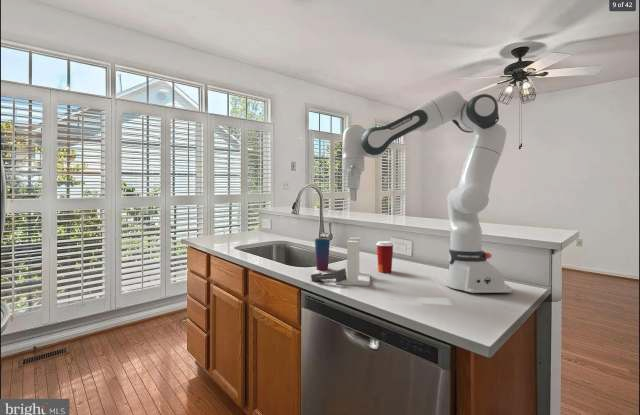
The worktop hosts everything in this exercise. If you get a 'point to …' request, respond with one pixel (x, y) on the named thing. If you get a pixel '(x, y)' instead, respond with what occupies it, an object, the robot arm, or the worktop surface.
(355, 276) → the white post stand
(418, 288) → the worktop surface
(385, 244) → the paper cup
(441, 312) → the worktop surface
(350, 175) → the robot arm
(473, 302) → the worktop surface
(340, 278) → the loop
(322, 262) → the cup
